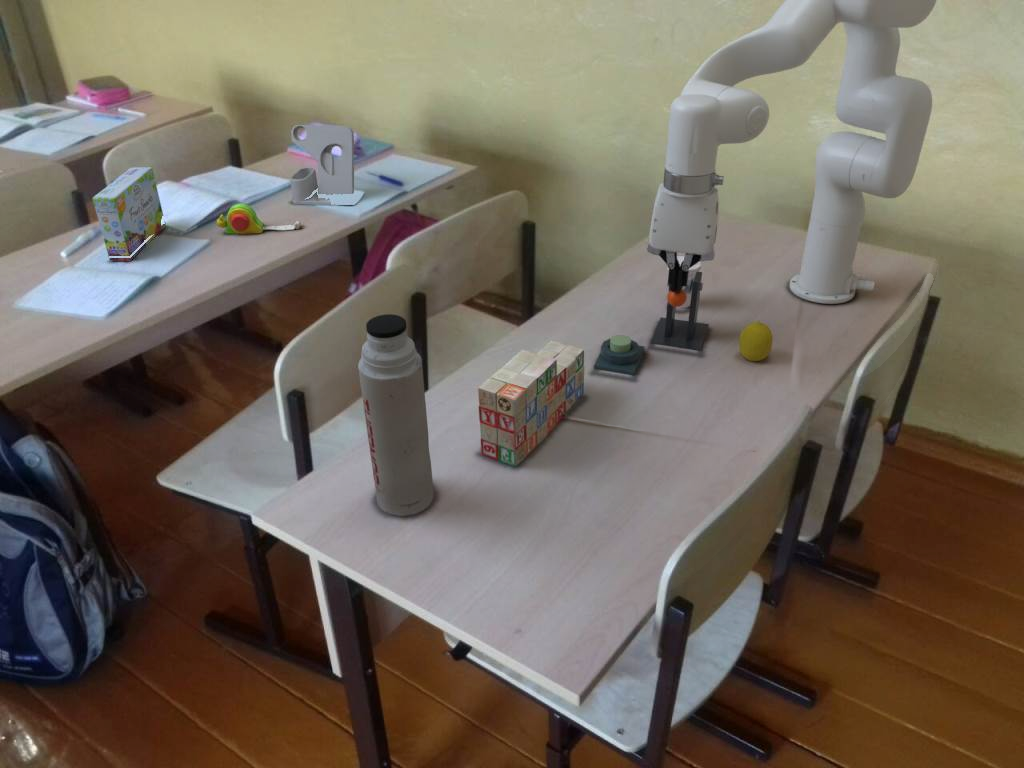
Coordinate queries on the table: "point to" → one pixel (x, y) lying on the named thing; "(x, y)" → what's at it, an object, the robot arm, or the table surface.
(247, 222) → the toy measuring tape
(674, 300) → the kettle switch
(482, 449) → the stack of blocks
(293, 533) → the table surface
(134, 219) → the snack box
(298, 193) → the phone holder
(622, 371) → the dark piece
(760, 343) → the lemon
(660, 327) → the switch bracket
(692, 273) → the smoothie
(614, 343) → the green round button
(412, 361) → the thermos bottle
